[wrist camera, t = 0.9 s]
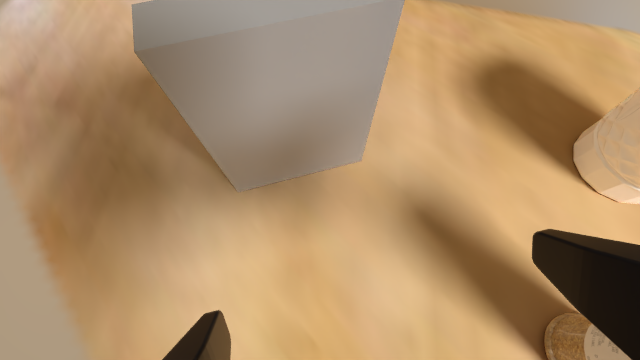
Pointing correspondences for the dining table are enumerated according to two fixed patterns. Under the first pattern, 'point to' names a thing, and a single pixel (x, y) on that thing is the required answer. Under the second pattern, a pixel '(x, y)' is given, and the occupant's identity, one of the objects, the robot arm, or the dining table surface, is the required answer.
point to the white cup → (613, 152)
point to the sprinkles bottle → (578, 340)
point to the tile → (270, 78)
